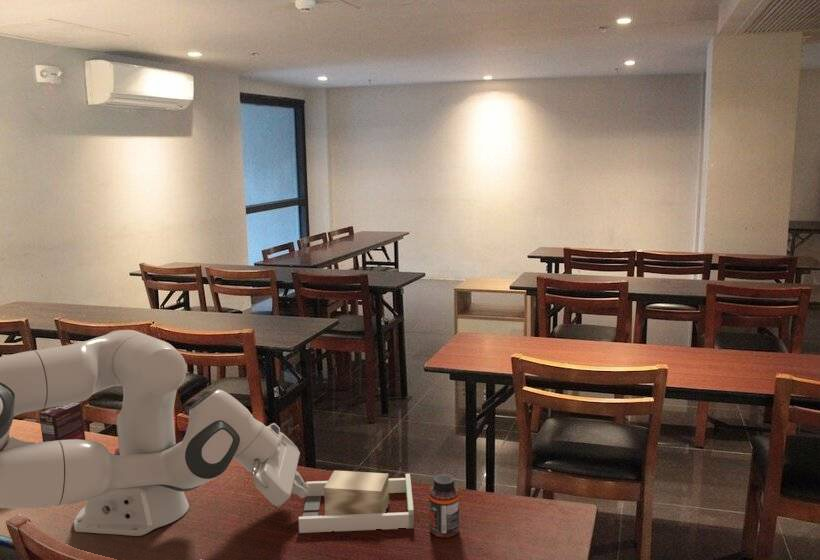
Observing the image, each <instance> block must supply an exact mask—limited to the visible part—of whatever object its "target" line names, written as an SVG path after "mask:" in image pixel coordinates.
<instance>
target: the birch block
mask: <svg viewBox="0 0 820 560" xmlns="http://www.w3.org/2000/svg"><path fill="white" fill-rule="evenodd" d="M389 475H390V474H389V473H382V472H369V471H367V472H365V471H351V470H335V469H334V470H333V471H332V473H331V476H330V477H329V479H328V480H327V481H328V482H327V484H326V485H325V487H324V496H323V497H324V516H325V515H349V514H374V513H385V512H386V513H387V510H386V509H388V507H389V505H390V493H389V477H390V476H389ZM388 504H389V505H388Z"/></svg>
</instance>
